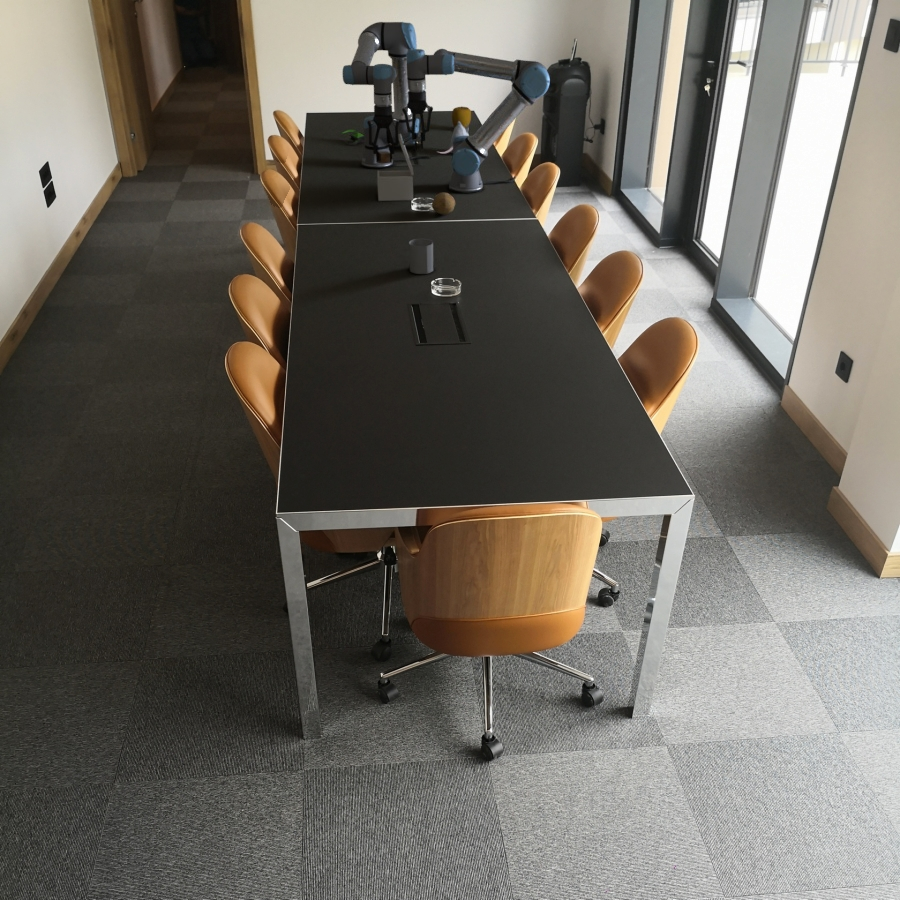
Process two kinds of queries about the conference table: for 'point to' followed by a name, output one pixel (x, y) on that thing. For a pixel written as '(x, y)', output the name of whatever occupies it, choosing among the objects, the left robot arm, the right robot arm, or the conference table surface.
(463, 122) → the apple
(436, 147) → the conference table surface
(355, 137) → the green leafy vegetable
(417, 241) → the cup
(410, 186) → the chest
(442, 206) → the potato
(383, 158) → the block
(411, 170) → the lid
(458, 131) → the toy
